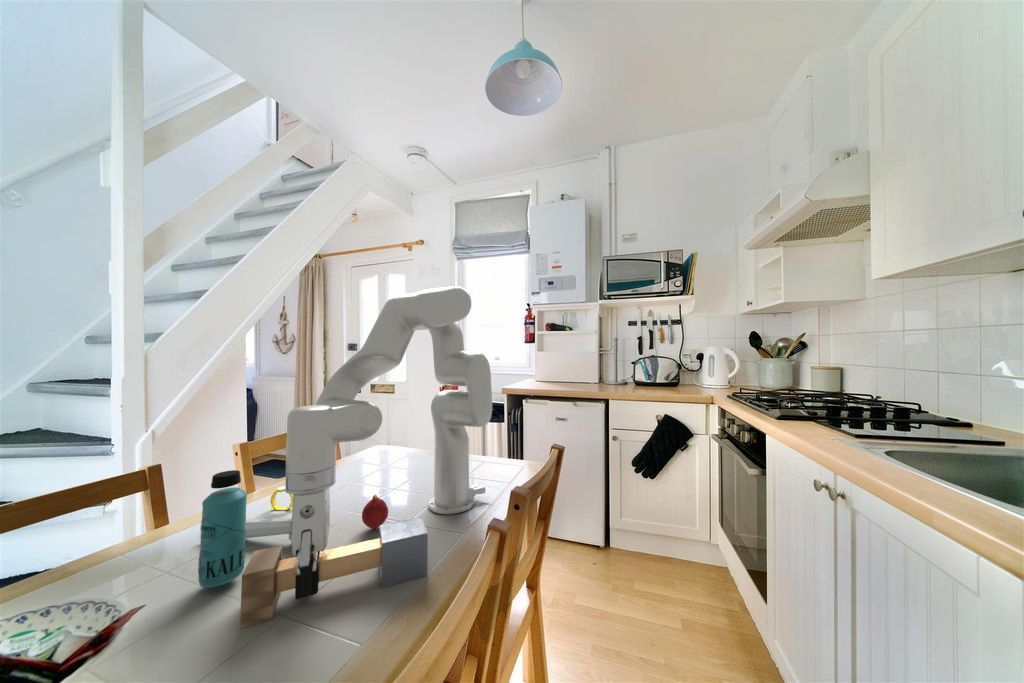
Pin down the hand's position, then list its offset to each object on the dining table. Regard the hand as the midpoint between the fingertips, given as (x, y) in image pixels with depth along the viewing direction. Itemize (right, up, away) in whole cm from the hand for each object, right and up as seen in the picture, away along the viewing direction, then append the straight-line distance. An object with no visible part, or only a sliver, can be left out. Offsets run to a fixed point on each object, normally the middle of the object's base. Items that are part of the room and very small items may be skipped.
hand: (309, 583), depth 57 cm
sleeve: (+14, -2, +7) cm, 16 cm away
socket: (-6, -2, -3) cm, 7 cm away
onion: (+2, -3, +22) cm, 22 cm away
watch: (-27, -4, +32) cm, 42 cm away
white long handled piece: (-20, -3, +17) cm, 27 cm away
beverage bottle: (-17, -2, +3) cm, 18 cm away
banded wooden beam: (+2, 0, +1) cm, 3 cm away
